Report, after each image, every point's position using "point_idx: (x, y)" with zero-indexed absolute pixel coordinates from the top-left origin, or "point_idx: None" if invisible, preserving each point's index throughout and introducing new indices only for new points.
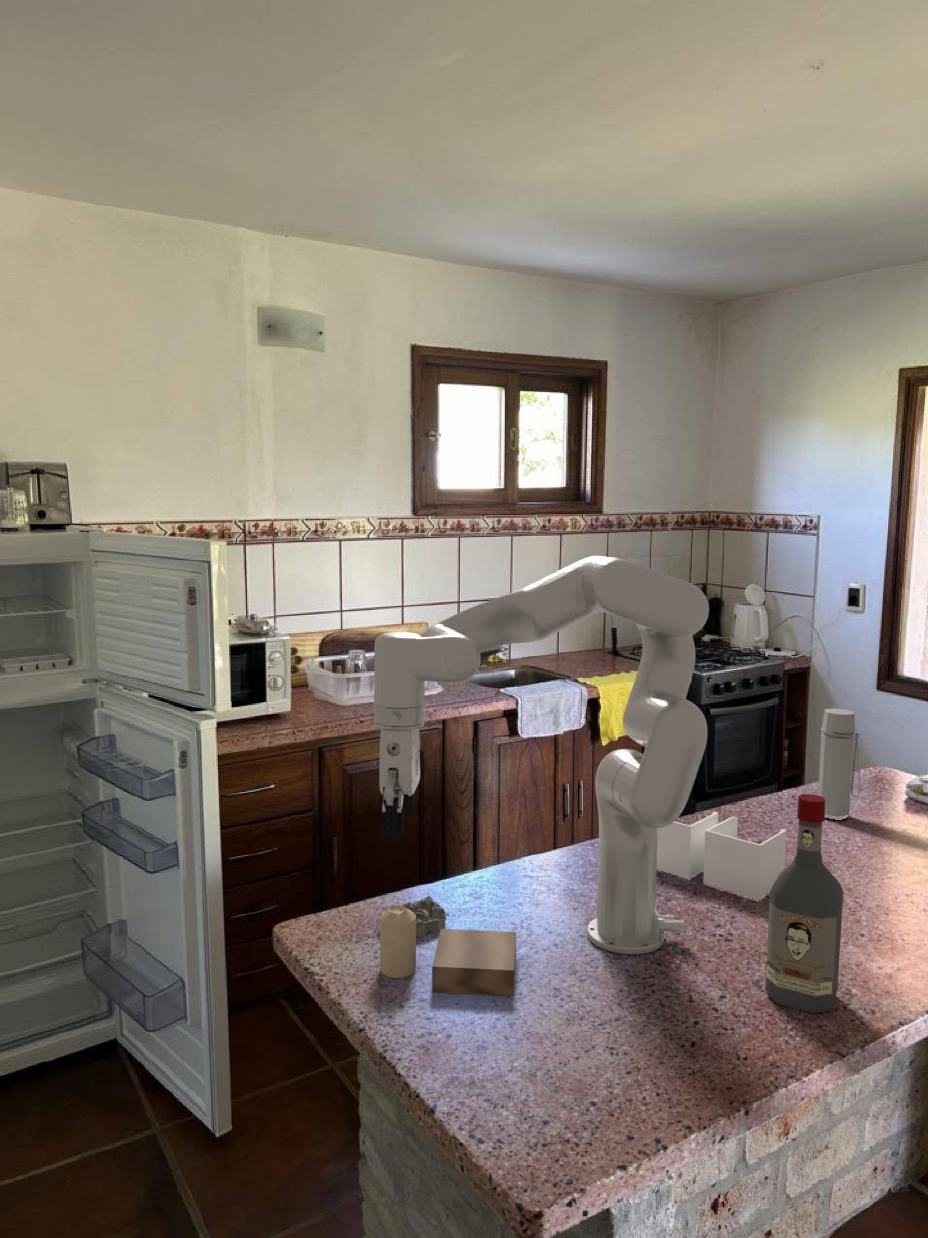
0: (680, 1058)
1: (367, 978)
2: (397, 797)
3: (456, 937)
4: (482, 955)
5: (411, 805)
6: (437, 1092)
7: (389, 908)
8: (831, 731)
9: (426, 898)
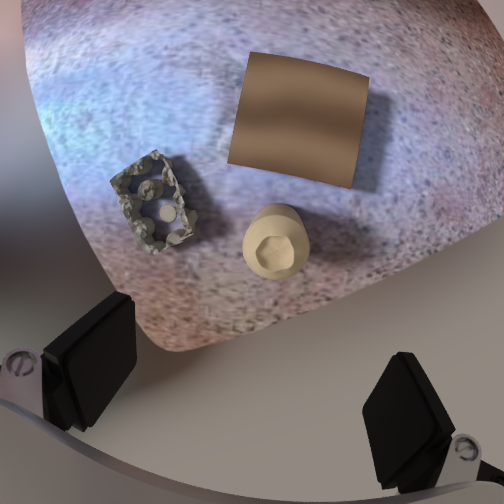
0: (446, 5)
1: None
2: (98, 400)
3: (260, 140)
4: (324, 108)
5: (107, 323)
6: (488, 211)
7: (266, 267)
8: None
9: (113, 184)
